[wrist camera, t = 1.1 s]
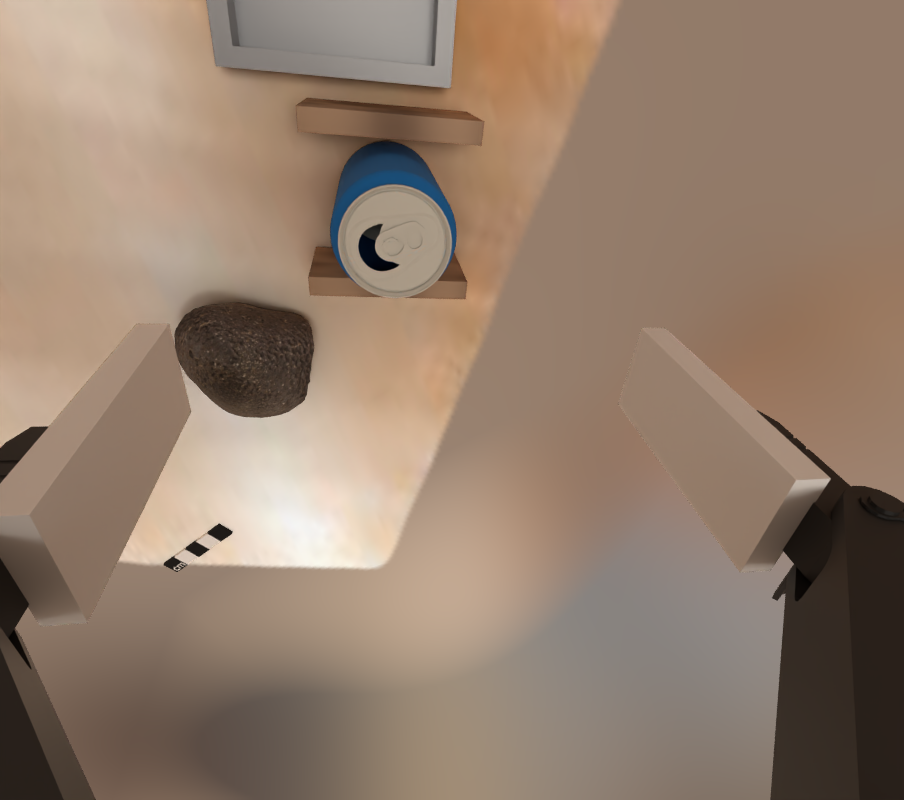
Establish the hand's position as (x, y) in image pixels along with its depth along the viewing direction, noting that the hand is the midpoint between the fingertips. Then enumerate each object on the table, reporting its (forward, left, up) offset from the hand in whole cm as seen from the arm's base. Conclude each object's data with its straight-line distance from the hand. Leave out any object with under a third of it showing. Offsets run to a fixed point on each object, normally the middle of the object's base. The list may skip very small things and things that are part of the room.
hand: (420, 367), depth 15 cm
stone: (-11, -16, -26) cm, 32 cm away
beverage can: (0, 0, -25) cm, 25 cm away
